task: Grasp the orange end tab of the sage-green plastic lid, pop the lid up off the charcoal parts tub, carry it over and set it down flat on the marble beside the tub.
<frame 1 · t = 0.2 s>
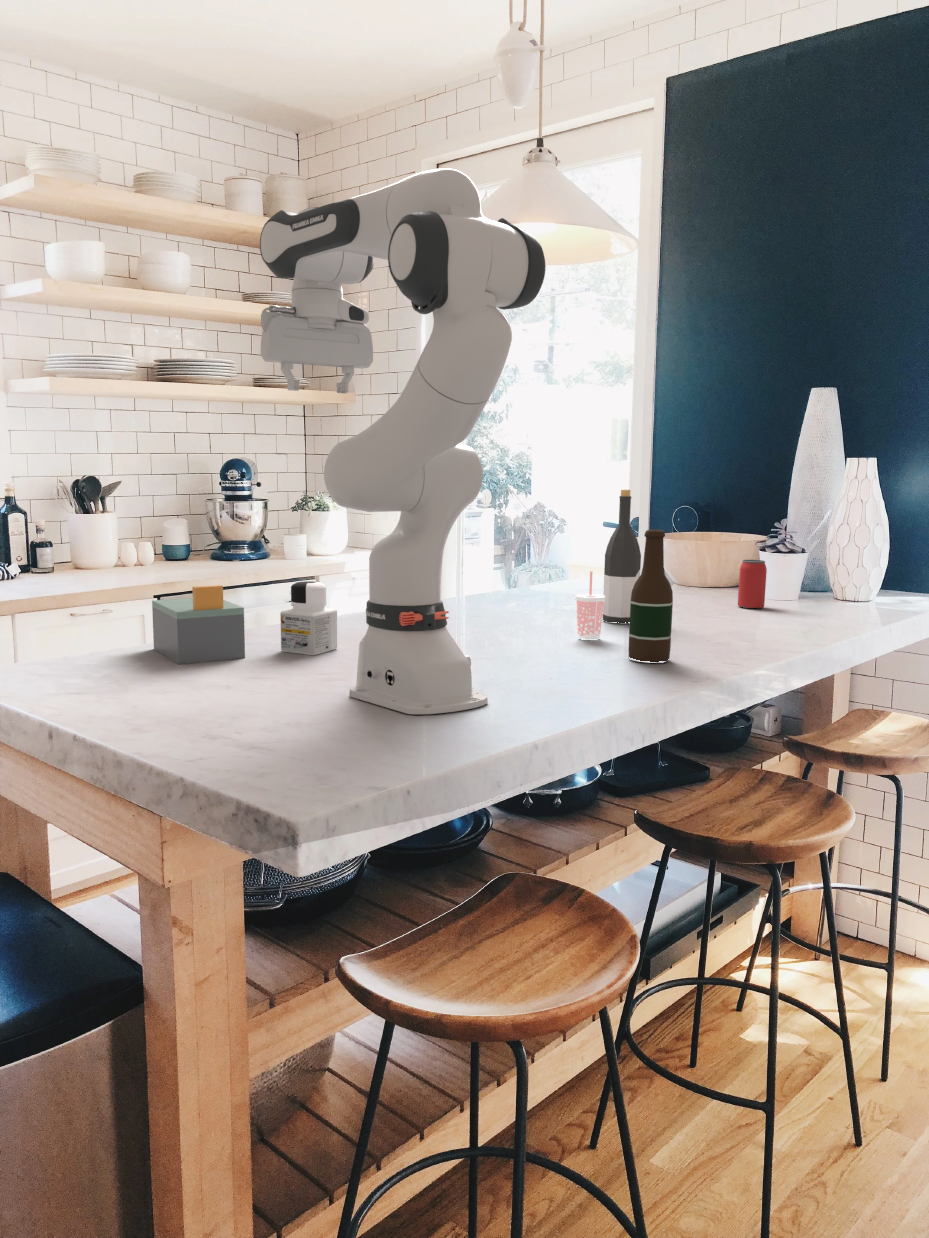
hand: (318, 391, 169), 47 cm above the counter, tool pointing down, fingers open, 8 cm apart
lid: (197, 610, 176), point 8 cm above the counter, touching tub
wine bottle: (620, 622, 221), on the counter
tub: (198, 653, 178), on the counter
container: (309, 651, 182), on the counter
beverage cup: (588, 640, 198), on the counter
beer bottle: (648, 661, 178), on the counter
beer can: (750, 608, 246), on the counter
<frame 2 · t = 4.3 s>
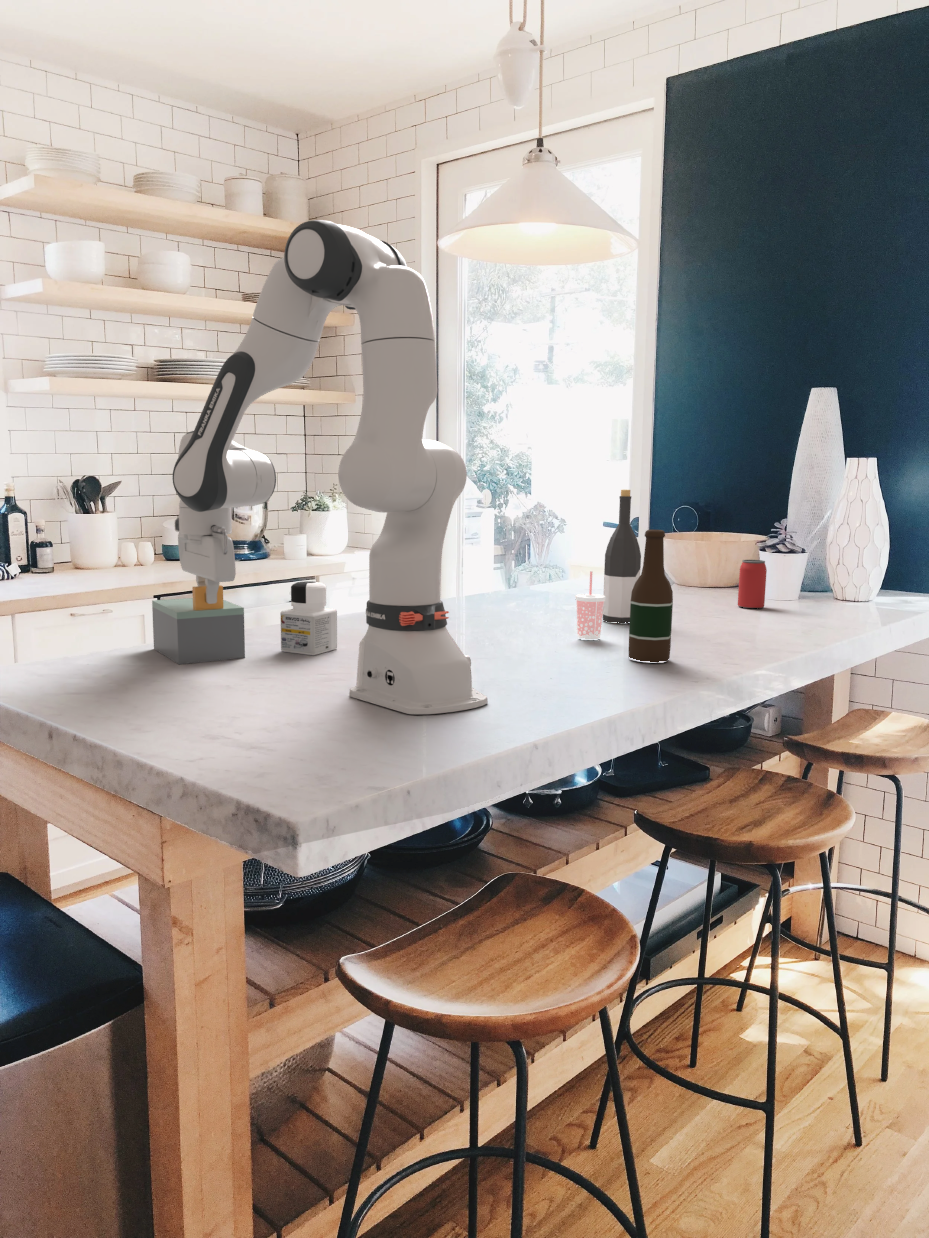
hand: (208, 602, 171), 10 cm above the counter, tool pointing down, fingers closed on lid
lid: (197, 610, 176), point 8 cm above the counter, touching gripper, tub
everything else where it was.
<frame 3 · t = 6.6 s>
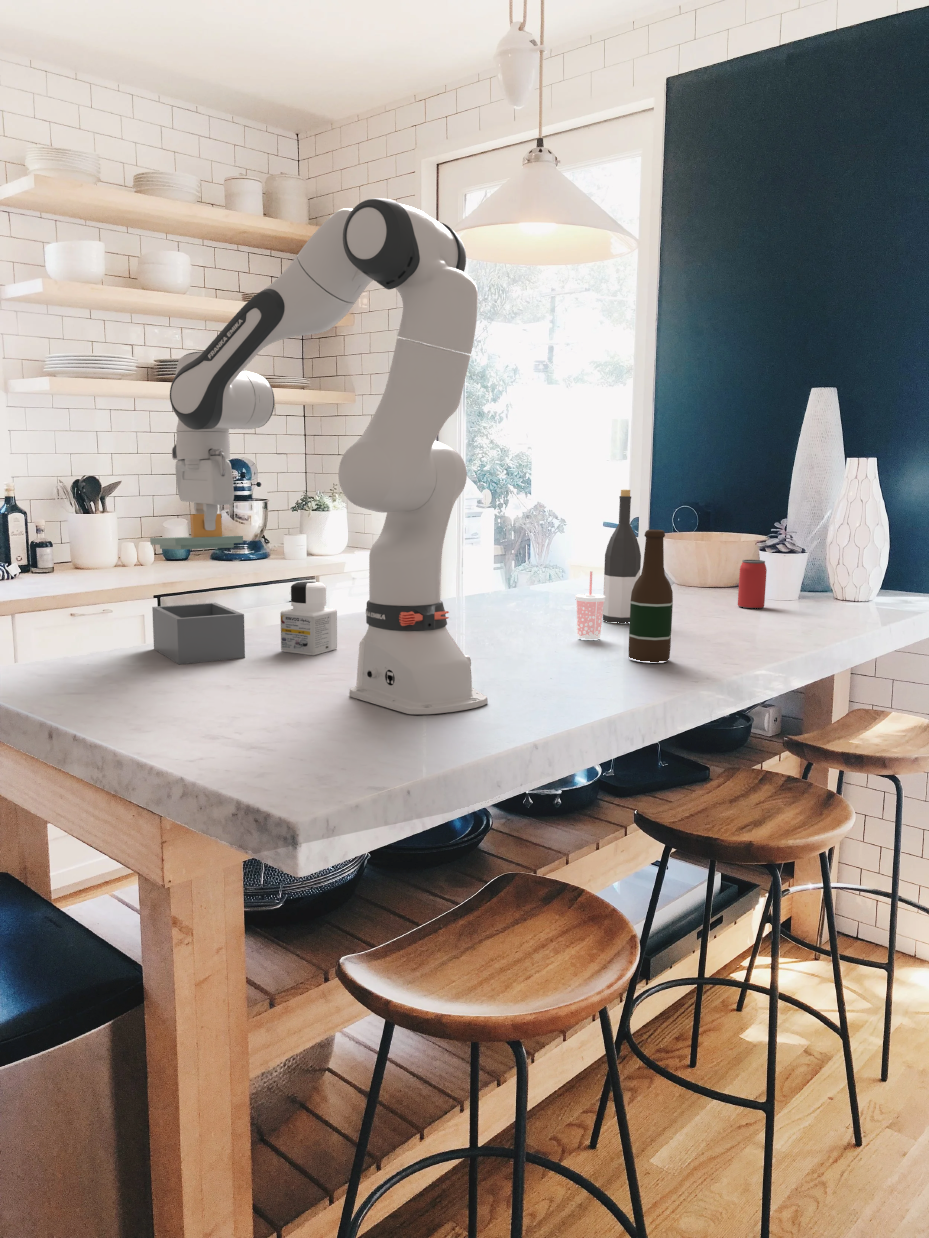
hand: (206, 529, 169), 23 cm above the counter, tool pointing down, fingers closed on lid
lid: (196, 543, 174), point 20 cm above the counter, touching gripper
everything else where it was.
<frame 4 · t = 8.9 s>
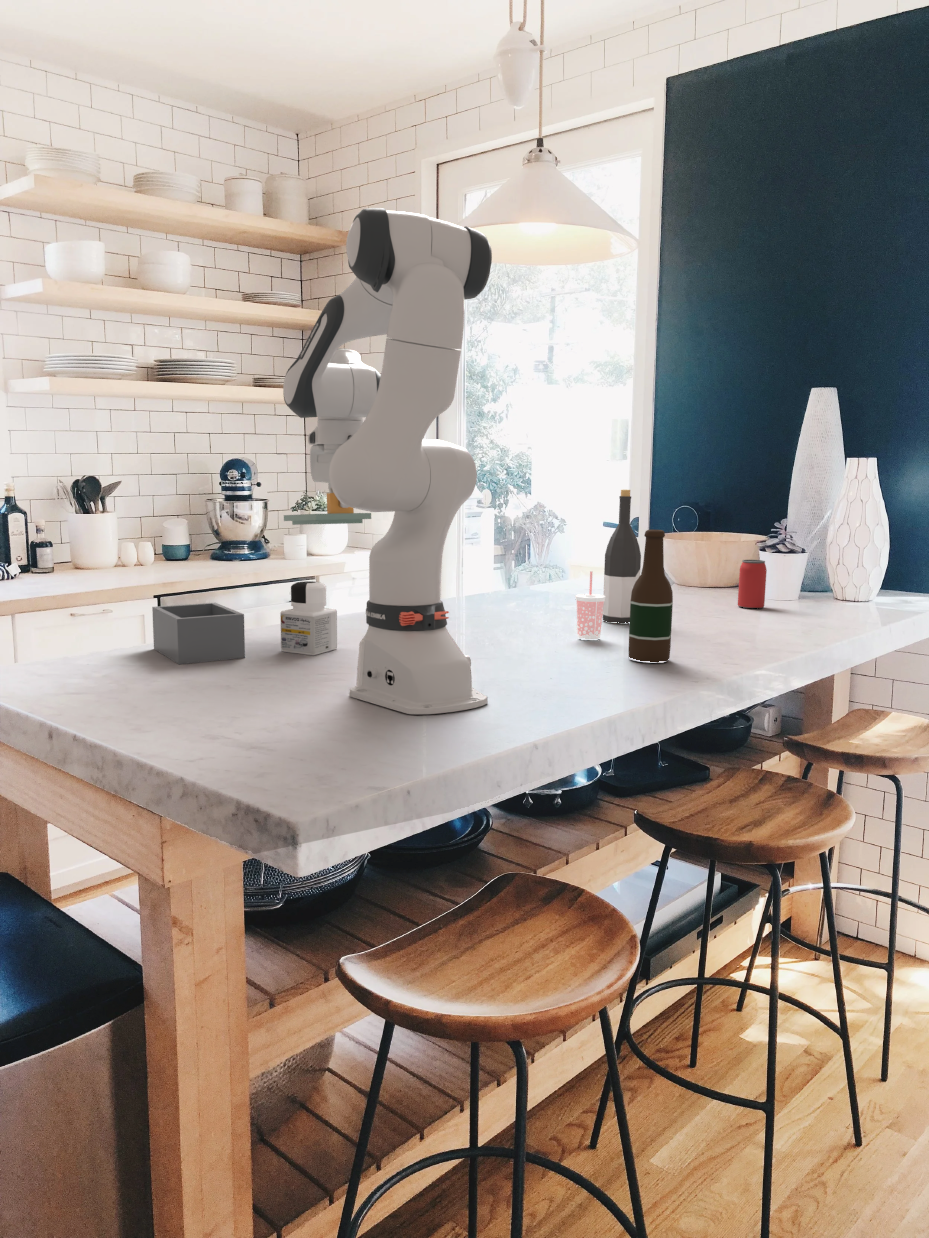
hand: (340, 507, 190), 26 cm above the counter, tool pointing down, fingers closed on lid
lid: (326, 520, 196), point 24 cm above the counter, touching gripper
everything else where it was.
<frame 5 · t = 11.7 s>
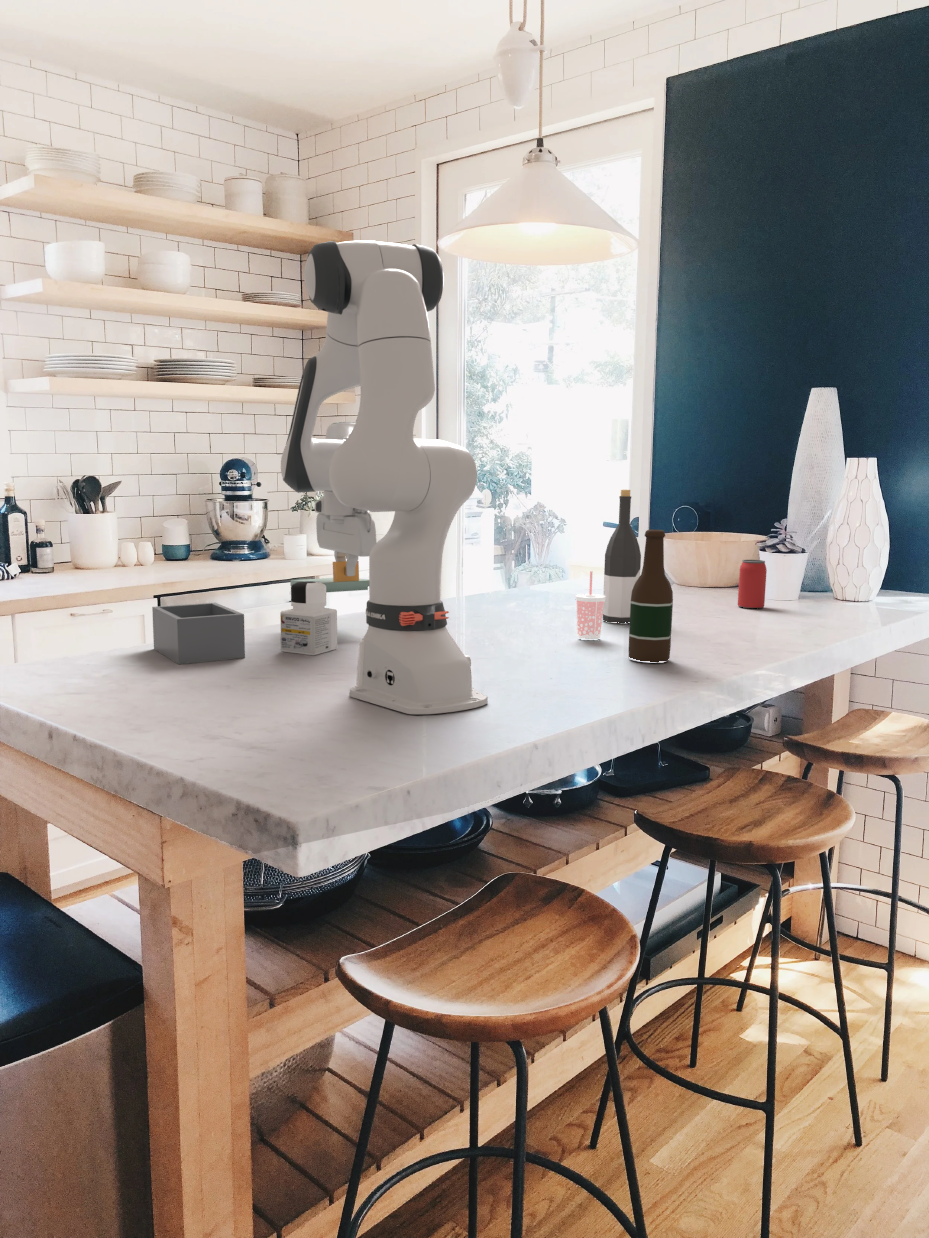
hand: (346, 574, 194), 13 cm above the counter, tool pointing down, fingers closed on lid
lid: (332, 585, 199), point 10 cm above the counter, touching gripper
everything else where it was.
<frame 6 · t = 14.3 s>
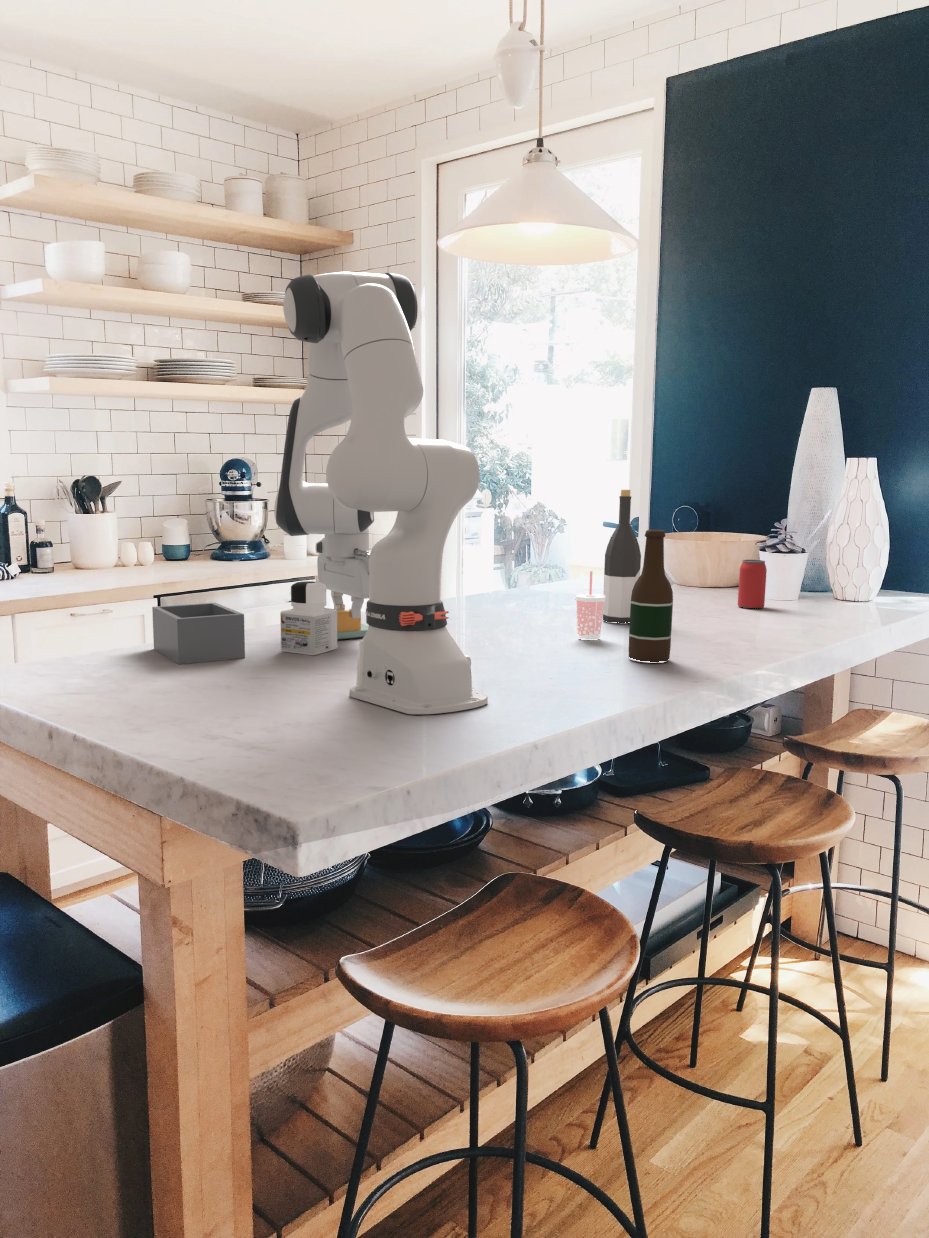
hand: (347, 615, 195), 5 cm above the counter, tool pointing down, fingers open, 6 cm apart
lid: (334, 631, 200), on the counter
everything else where it was.
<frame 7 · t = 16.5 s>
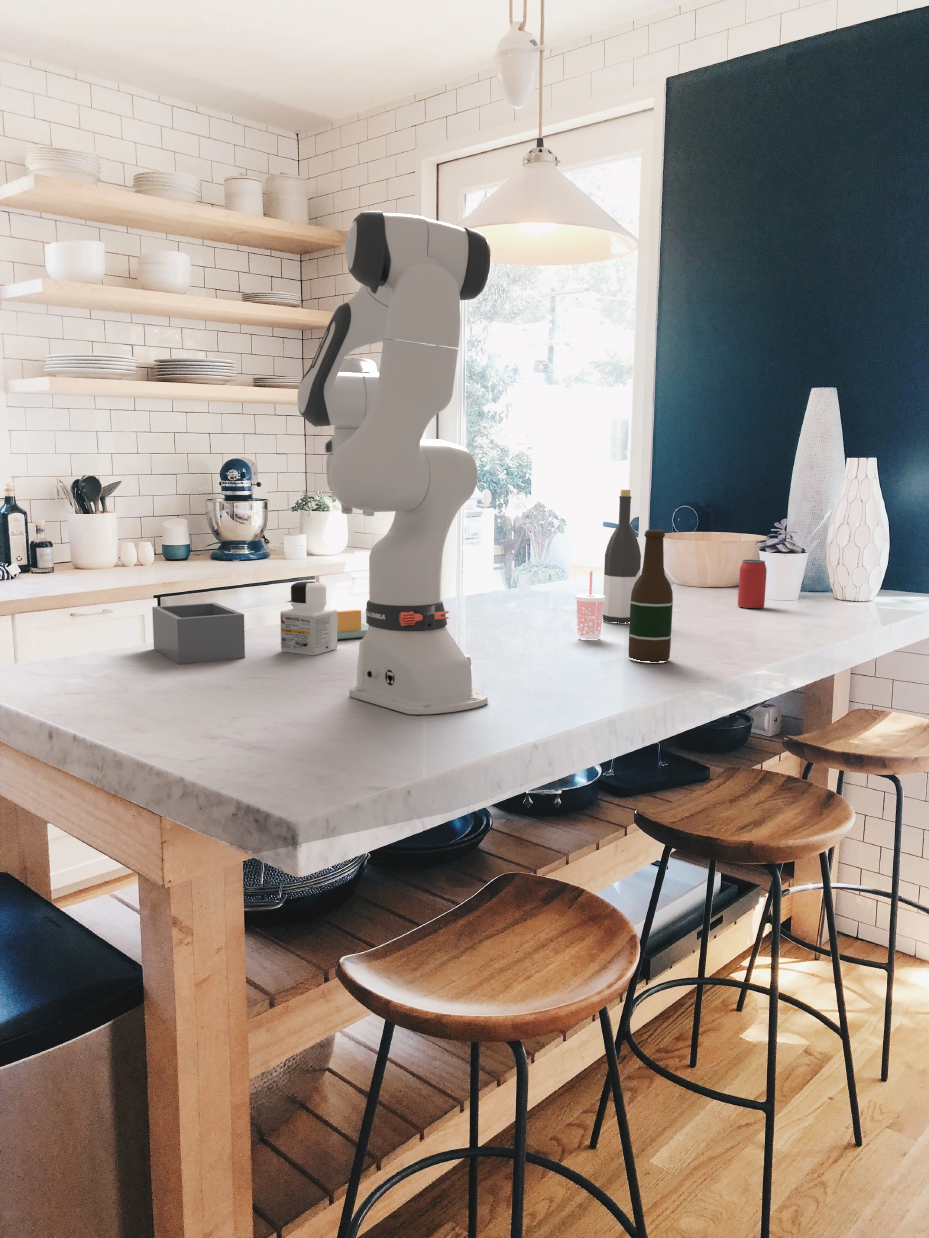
hand: (357, 515, 191), 25 cm above the counter, tool pointing down, fingers open, 8 cm apart
nothing on the counter moved.
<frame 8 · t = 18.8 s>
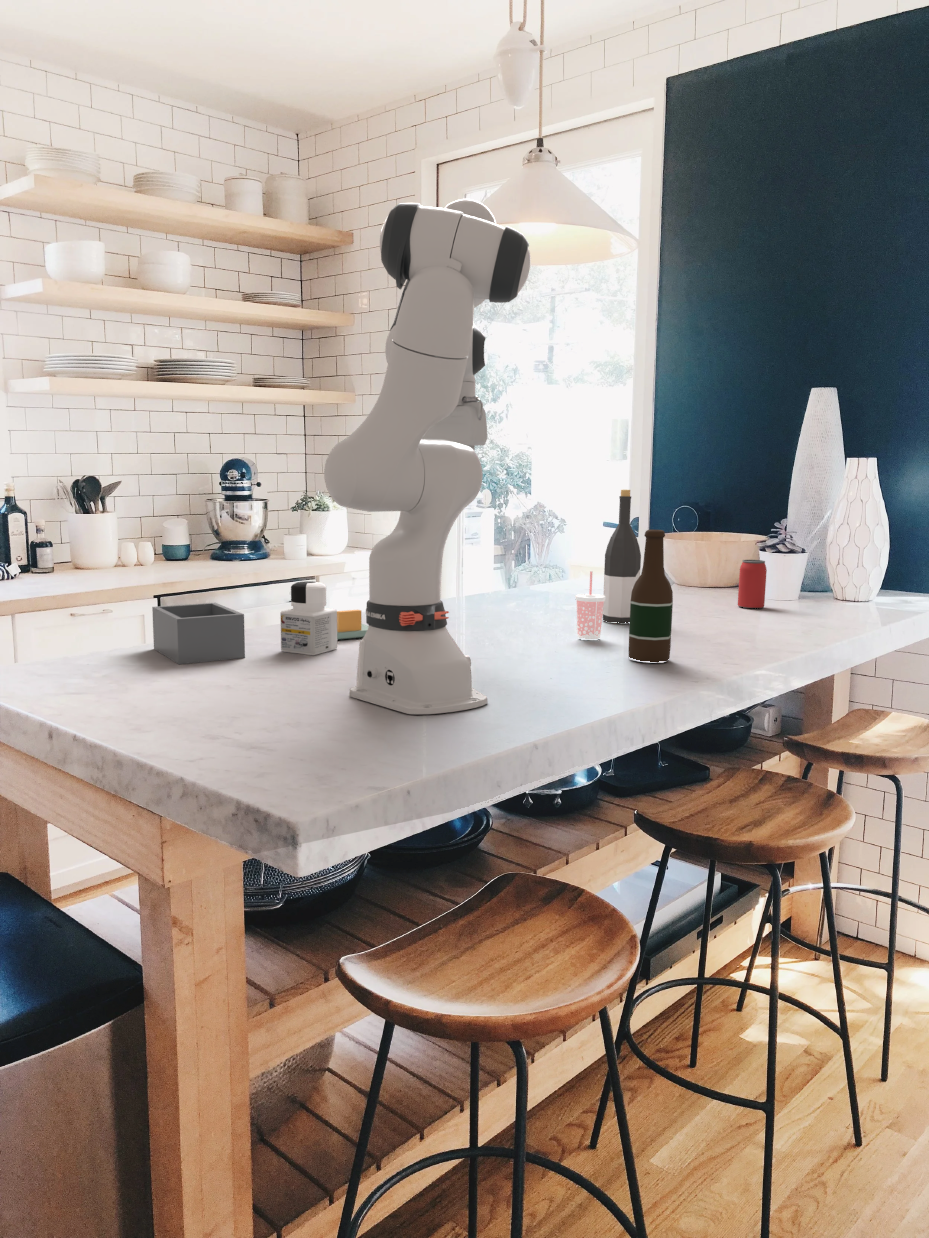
hand: (451, 469, 191), 34 cm above the counter, tool pointing down, fingers open, 8 cm apart
nothing on the counter moved.
at the end: lid on the counter; lid touching counter; lid inside the target area (0.8 cm from its centre), on the counter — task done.
